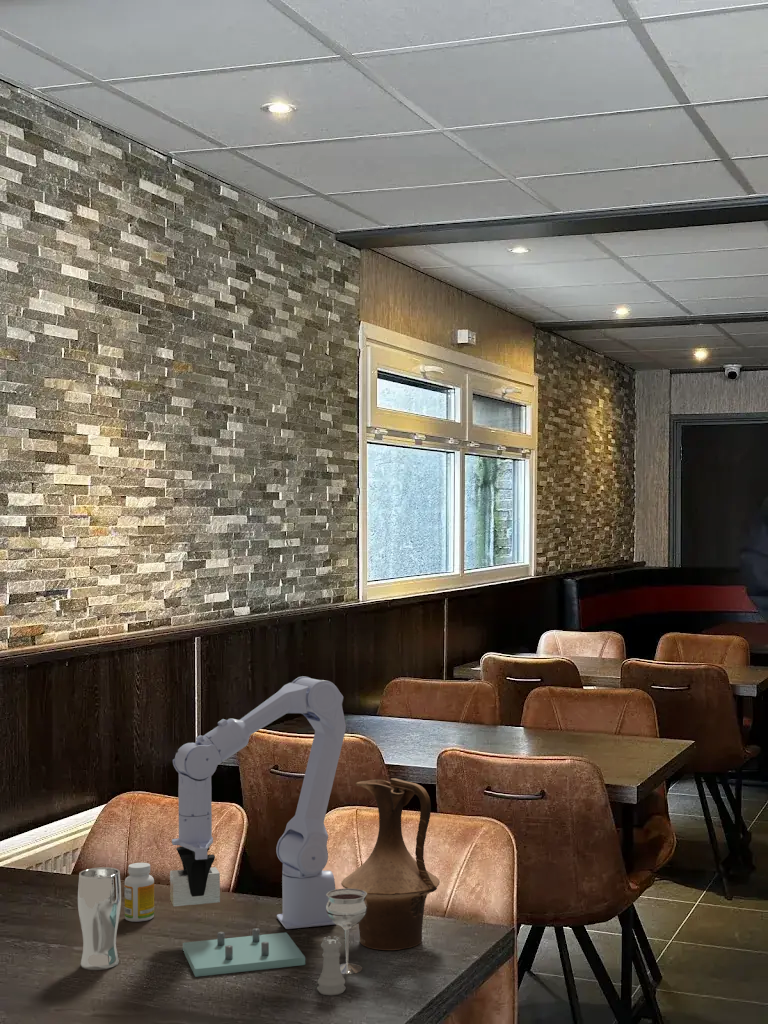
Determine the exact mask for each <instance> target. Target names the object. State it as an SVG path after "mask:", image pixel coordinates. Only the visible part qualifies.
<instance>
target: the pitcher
mask: <svg viewBox="0 0 768 1024" xmlns="http://www.w3.org/2000/svg"><path fill="white" fill-rule="evenodd" d="M355 786H357V787H361V788H363V789H366V790H367V791H368V792H370V793H371V795H372V796H373V797H374V799H375V802H376V805H377V810H378V820H379V821H378V824H379V825H378V833H377V838H376V842H375V846H374V847H373V850H372V852H370V855H369V856H368V858H367V859H366V860H365V861H364V862H363V863H362V864H361V865H360V866H359V867H358V868H357V869H355V870H354V871H352V873H350V874H349V875H347V876H345V878H343V879H342V880H341V883H340V884H341V886H342V887H343V889H348V888H351V889H359V890H363V891H365V892H367V896H366V898H365V900H366V901H367V905H368V907H367V913H366V916H365V917H364V918H363V919H362V920H361V921H360V923H358V929H359V942H360V944H361V945H362V946H364V947H366V948H369V949H374V950H382V951H396V950H403V949H408V948H412V947H416V946H418V945H420V944H422V942H423V941H422V940H423V923H424V914H425V913H424V912H425V905H426V899H427V897H428V895H429V894H430V893H434V892H435V891H436V890H438V887H439V885H440V883H441V882H440V879H439V877H437V876H436V875H435V874H432V873H431V872H430V871H428V870H427V869H426V863H425V858H424V852H425V851H424V850H425V849H424V848H425V847H424V846H425V841H426V838H427V831H428V828H429V823H430V819H431V811H432V805H431V804H432V803H431V798H430V796H429V793H428V792H427V790H426V788H425V787H423V786H422V785H420V784H418V783H416V782H412V781H411V782H410V781H406V780H402V779H400V778H396V777H395V778H390V781H387V780H384V779H369V780H362V781H361V780H360V781H357V782H356V783H355ZM415 795H416V796H417V797H418V800H419V803H420V813H419V823H418V825H417V834H416V840H415V842H416V844H415V858H414V857H413V856H412V855H411V853H410V852H409V850H408V848H407V846H406V844H405V843H406V842H405V841H404V837H403V832H402V831H403V829H402V814H403V808H404V807H405V806H407V805H408V804H409V803H410V801H411V799H412V798H413V797H414V796H415Z"/></svg>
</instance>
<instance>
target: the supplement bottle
mask: <svg viewBox="0 0 768 1024" xmlns="http://www.w3.org/2000/svg"><path fill="white" fill-rule="evenodd" d="M127 872H128V874H129V875H128V876H127V877H125V879H124V919H125V920H126V921H129V922H132V923H133V922H134V923H138V922H139V923H140V922H146V921H150V920H152V919H153V918H155V917H154V916H155V879H154V877H153V876H152V875H151V874H150V873H151V864H150V863H148V862H135V863H130V864H129V865H128V868H127Z"/></svg>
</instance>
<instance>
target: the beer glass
mask: <svg viewBox="0 0 768 1024" xmlns="http://www.w3.org/2000/svg"><path fill="white" fill-rule="evenodd" d="M78 874H79V875H78V885H77V886H78V889H77V909H78V916H79V923H80V929H81V934H82V943H83V944H82V948H83V949H82V955H81V960H80V966H81V968H82V969H84V970H89V971H102V970H109V969H111V968H114V967H116V966H118V965H119V962H120V961H119V955H118V950H117V948H118V947H117V933H118V928H119V921H120V914H121V907H122V883H121V875H120V874H121V870H120V869H118V868H115V867H109V866H107V867H106V866H103V867H101V866H100V867H92V868H87V869H84V870H82V871H79V873H78Z"/></svg>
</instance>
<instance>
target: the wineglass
mask: <svg viewBox="0 0 768 1024" xmlns="http://www.w3.org/2000/svg"><path fill="white" fill-rule="evenodd" d="M326 895H327V897H328V899H329V900H328V901H327V905H326V912H327V914H328V917H329V918H330V919H331V920H332V921H333V922H334V923H335V924H334V925H337V926H340V927H341V928H342V930H344V943H345V944H344V946H345V963H341V964H340V963H339V964H340V970H341V973H342V974H343V975H352V974H357V973H359V972H361V971H362V970H363V967H362V966H361V965H359V964H355V963H350V962H349V955H350V954H349V952H350V951H349V950H350V930H351V929H353V927H355V926H357V925H359V923H360V921H361V920H362V919H363V918H364V917H365V916H366V913H367V907H368V905H367V901H366V900H365V898H366V896H367V892H365V891H363V890H359V889H351V888H348V889H345V888H337V889H336V888H335V890H332V891H329V892H328V893H327V894H326Z"/></svg>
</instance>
